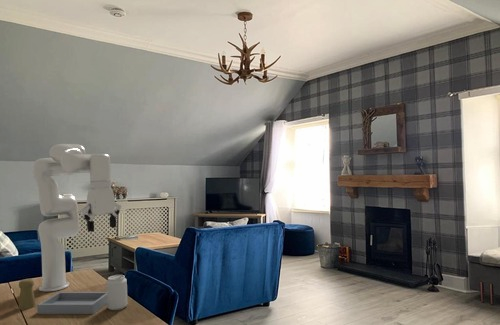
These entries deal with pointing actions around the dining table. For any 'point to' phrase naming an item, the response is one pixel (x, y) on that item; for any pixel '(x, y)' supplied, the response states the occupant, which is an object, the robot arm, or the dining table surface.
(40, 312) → the tray
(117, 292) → the can
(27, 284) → the pepper mill
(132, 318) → the dining table surface
